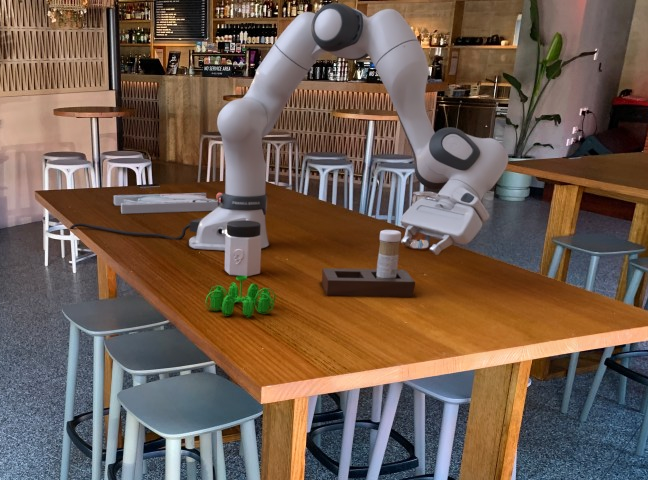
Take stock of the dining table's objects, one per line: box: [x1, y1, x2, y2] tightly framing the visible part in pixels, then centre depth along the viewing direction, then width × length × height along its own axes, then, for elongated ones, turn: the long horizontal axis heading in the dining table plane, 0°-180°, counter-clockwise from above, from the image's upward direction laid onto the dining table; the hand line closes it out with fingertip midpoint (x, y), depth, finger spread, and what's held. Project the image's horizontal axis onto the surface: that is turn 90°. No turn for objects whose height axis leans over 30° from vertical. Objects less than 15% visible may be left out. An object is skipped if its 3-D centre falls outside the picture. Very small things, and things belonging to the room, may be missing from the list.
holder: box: [321, 267, 416, 298], centre depth 180 cm, size 11×19×4 cm, turn 88°
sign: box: [113, 192, 219, 215], centre depth 278 cm, size 34×3×20 cm
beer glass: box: [407, 190, 438, 251], centre depth 218 cm, size 7×7×15 cm
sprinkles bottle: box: [376, 229, 402, 279], centre depth 178 cm, size 5×5×14 cm
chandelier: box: [205, 276, 276, 318], centre depth 164 cm, size 15×15×7 cm
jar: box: [224, 220, 262, 278], centre depth 192 cm, size 9×8×12 cm
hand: (418, 248), depth 181 cm, fingers open, 8 cm apart
